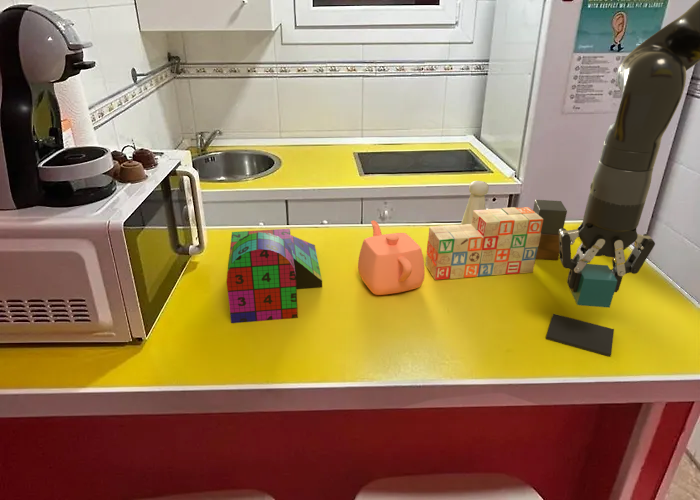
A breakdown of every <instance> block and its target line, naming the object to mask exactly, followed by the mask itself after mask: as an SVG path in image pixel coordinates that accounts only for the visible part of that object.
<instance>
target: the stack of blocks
mask: <svg viewBox="0 0 700 500" xmlns="http://www.w3.org/2000/svg"><path fill="white" fill-rule="evenodd" d="M542 224H543V218H542V217H540V216H539V215H538V214H537V213H535V212H534V211H533V209H532V208H531V207H528V206H526V207H514V206H513V207H511V206H510V207H501V208H488V209H485V210H473V215H472V221H471V224H465V225H461V224H450V225H449V224H448V225H437V226H429V227H428V236H427V237H428V238H427V245H426V257H425V267H426V268H427V270H428V272H429V273H430V274H431V276H432V278H433V279H434V280H436V281H439V280H453V279H463V278H464V279H466V278H476V277H487V276H488V277H489V276H500V275H516V274H531V273H533V272H534V268H535V264H536V259H535V258H536V253H537V249H538V246H539V241H540V237H541V228H542Z"/></svg>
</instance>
